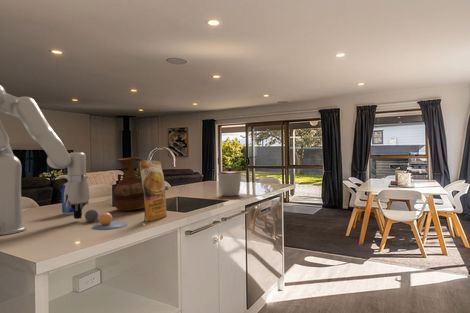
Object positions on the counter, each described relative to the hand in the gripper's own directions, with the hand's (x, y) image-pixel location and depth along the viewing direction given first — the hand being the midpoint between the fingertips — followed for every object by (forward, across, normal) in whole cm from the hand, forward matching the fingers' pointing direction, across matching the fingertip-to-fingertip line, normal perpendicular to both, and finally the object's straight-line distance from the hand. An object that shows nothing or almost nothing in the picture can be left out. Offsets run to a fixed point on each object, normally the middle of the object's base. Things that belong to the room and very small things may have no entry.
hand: (77, 218), depth 139 cm
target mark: (+2, 0, +22) cm, 22 cm away
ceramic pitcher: (+2, -34, 0) cm, 34 cm away
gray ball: (-1, -2, +7) cm, 7 cm away
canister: (+2, -106, +22) cm, 108 cm away
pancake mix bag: (+2, -20, +29) cm, 35 cm away
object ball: (-1, 0, +19) cm, 19 cm away
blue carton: (+2, -11, -22) cm, 25 cm away
